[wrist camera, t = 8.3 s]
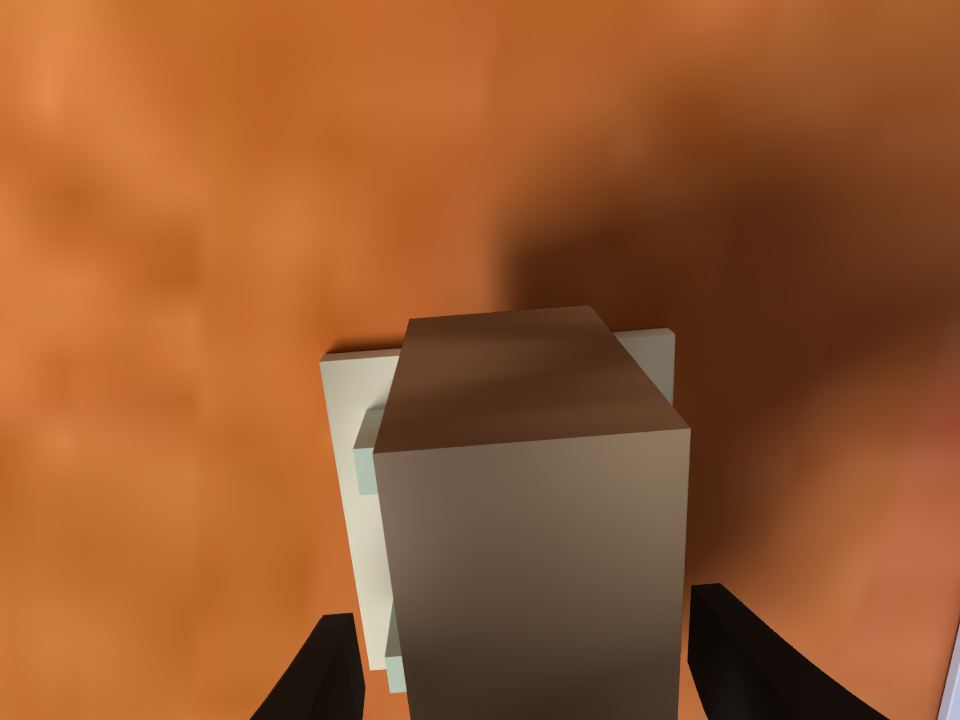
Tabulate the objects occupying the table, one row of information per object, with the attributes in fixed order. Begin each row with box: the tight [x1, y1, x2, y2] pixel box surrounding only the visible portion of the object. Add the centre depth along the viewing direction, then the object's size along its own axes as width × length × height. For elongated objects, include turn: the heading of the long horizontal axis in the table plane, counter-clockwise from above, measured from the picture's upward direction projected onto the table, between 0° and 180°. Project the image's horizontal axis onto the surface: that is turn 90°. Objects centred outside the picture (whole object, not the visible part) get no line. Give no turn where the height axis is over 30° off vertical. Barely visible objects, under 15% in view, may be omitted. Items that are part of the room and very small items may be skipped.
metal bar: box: [372, 305, 691, 720], centre depth 12 cm, size 4×13×6 cm, turn 4°
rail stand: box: [319, 328, 675, 693], centre depth 17 cm, size 9×10×3 cm
